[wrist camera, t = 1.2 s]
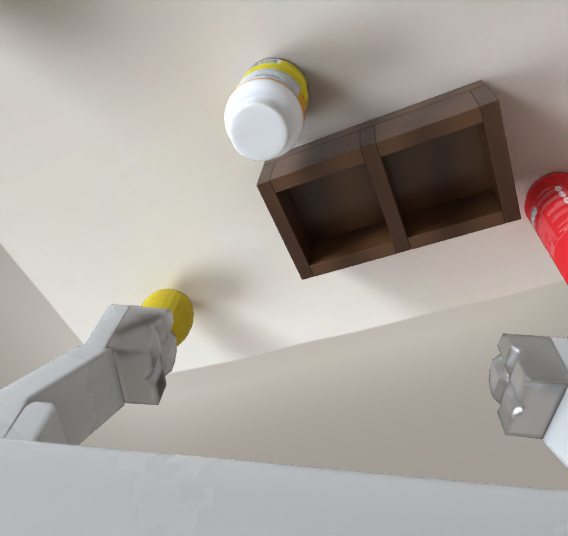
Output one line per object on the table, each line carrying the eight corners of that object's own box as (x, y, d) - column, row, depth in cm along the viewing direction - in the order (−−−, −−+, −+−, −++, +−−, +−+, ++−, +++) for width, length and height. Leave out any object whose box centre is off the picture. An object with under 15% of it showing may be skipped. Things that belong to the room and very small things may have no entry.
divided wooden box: (481, 79, 39) (498, 99, 35) (504, 188, 44) (521, 219, 39) (265, 158, 45) (256, 185, 40) (306, 247, 50) (301, 280, 45)
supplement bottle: (284, 137, 43) (268, 188, 35) (230, 97, 42) (200, 140, 34) (324, 84, 41) (317, 126, 32) (268, 39, 39) (245, 71, 31)
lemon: (208, 287, 54) (188, 338, 47) (191, 321, 57) (171, 373, 50) (159, 266, 53) (132, 315, 46) (145, 302, 56) (118, 353, 49)
